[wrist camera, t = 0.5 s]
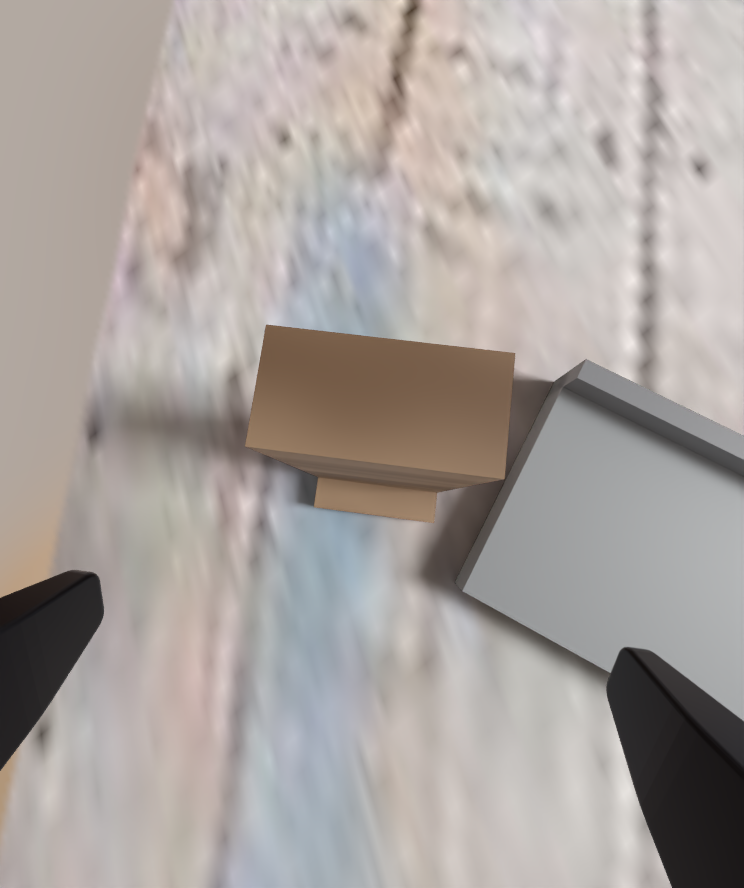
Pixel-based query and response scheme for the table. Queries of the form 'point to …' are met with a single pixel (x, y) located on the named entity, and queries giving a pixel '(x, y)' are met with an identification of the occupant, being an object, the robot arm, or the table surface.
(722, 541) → the display ledge
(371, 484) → the brown tall block
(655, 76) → the table surface
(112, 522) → the table surface
